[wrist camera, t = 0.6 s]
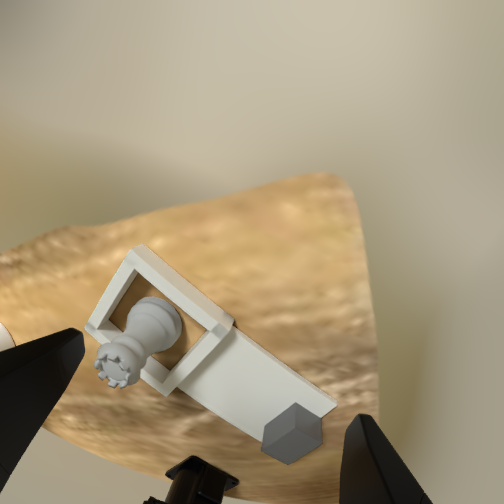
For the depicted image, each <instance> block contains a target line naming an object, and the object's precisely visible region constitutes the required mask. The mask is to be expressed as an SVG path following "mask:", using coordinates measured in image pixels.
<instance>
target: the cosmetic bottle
mask: <svg viewBox="0 0 504 504" xmlns="http://www.w3.org/2000/svg"><path fill="white" fill-rule="evenodd" d="M12 347H15V344H14V342H13V339H12V337H11V335H10V334H9V332H8V330H7V329H6V328H5V326H4V325H3V324H2V323H1V322H0V351H3V350H6V349H9V348H12Z"/></svg>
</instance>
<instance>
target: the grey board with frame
mask: <svg viewBox="0 0 504 504" xmlns="http://www.w3.org/2000/svg"><path fill="white" fill-rule="evenodd" d="M138 272H139V273H140V274H141V275H142V276H143V277H144V278H146V279H147V280H148V281H149V282H150V283H151V284H153V285H154V286H155V287H156V288H157V289H158V290H160V291H161V292H162V293H163V294H164V295H165V296H167V297H168V298H169V299H170V300H171V301H173V302H174V303H175V304H176V305H177V306H179V307H180V308H181V309H182V310H184V311H185V312H186V313H187V314H188V315H190V316H191V317H192V318H193V319H195V320H196V321H197V322H198V323H200V324H201V325H202V326H204V327H205V328H206V329H207V331H206V332H205V333H204V334H203V335H202V337H201V338H200V339H199V340H198V341H197V342H196V343H195V344H194V345H193V347H192V348H191V349H190V350H189V351H188V352H187V353H186V354H185V355H184V357H183V358H182V359H181V360H180V361H179V362H178V363H177V364H176V365H175V366H174V368H173V369H172V370H171V371H169V370H168V369H167V368H166V367H164V366H163V365H162V364H160V363H159V362H158V361H157V360H155V359H154V358H153V357H152V356H149V357H148V358H147V362H146V365H145V366H144V368H143V369H141V374H140V377H141V378H142V379H143V380H144V381H146V382H147V383H148V384H150V385H151V386H152V387H153V388H155V389H156V390H157V391H159V392H160V393H161V394H163V395H164V396H165V397H167V396H168V395H169V394H170V393H171V392H172V391H173V390H174V389H175V388H176V387H178V388H179V389H181V390H182V391H183V392H185V393H186V394H188V395H189V396H190V397H192V398H193V399H195V400H196V401H198V402H199V403H200V404H202V405H203V406H205V407H206V408H208V409H209V410H211V411H212V412H214V413H215V414H217V415H218V416H220V417H221V418H223V419H224V420H226V421H228V422H229V423H231V424H232V425H234V426H235V427H237V428H239V429H240V430H242V431H244V432H245V433H247V434H249V435H250V436H252V437H254V438H255V439H257V440H259V441H260V442H262V447H261V451H262V452H264V453H266V454H268V455H269V456H271V457H273V458H275V459H277V460H279V461H281V462H283V463H285V464H287V465H289V464H291V463H292V462H294V461H296V460H297V459H299V458H301V457H302V456H304V455H305V454H307V453H309V452H310V451H312V450H313V449H315V448H316V447H318V446H319V445H321V444H322V430H321V417H323V416H324V415H325V414H327V413H328V412H329V411H331V410H332V409H333V408H334V407H336V406H337V401H336V400H335V399H333V398H332V397H330V396H329V395H328V394H326V393H325V392H323V391H322V390H320V389H319V388H317V387H316V386H314V385H313V384H312V383H310V382H309V381H307V380H306V379H304V378H303V377H302V376H300V375H299V374H297V373H296V372H295V371H293V370H292V369H290V368H289V367H288V366H286V365H285V364H284V363H282V362H281V361H279V360H278V359H277V358H275V357H274V356H273V355H271V354H270V353H269V352H267V351H266V350H265V349H263V348H262V347H261V346H259V345H258V344H257V343H255V342H254V341H253V340H251V339H250V338H249V337H247V336H246V335H245V334H243V333H242V332H241V331H239V330H238V329H237V328H236V327H234V326H233V325H232V324H233V322H234V320H235V319H234V318H232V317H231V316H230V315H229V314H227V313H226V312H225V311H223V310H222V309H221V308H220V307H218V306H217V305H216V304H215V303H213V302H212V301H211V300H210V299H208V298H207V297H206V296H205V295H204V294H202V293H201V292H200V291H199V290H197V289H196V288H195V287H194V286H193V285H191V284H190V283H189V282H188V281H187V280H185V279H184V278H183V277H182V276H181V275H179V274H178V273H177V272H176V271H175V270H173V269H172V268H171V267H170V266H169V265H167V264H166V263H165V262H164V261H163V260H162V259H160V258H159V257H158V256H157V255H156V254H155V253H154V252H152V251H151V250H150V249H149V248H148V247H147V246H145V245H144V244H143V243H142V244H140V245H138V246H136V247H134V248H132V249H130V251H129V252H128V254H127V256H126V257H125V259H124V260H123V262H122V264H121V265H120V267H119V269H118V270H117V272H116V274H115V275H114V277H113V279H112V280H111V282H110V284H109V285H108V287H107V289H106V290H105V292H104V294H103V296H102V297H101V299H100V301H99V303H98V304H97V306H96V308H95V310H94V311H93V313H92V315H91V317H90V319H89V320H88V322H87V324H86V326H85V328H84V329H85V330H86V331H87V332H88V333H89V334H91V335H92V336H93V337H94V338H95V339H96V340H97V341H98V342H99V343H100V344H102V345H103V344H104V343H111V342H112V340H113V338H114V337H116V336H118V335H122V334H123V332H122V331H121V330H120V329H118V328H117V327H116V326H115V325H114V324H113V323H112V322H111V321H109V320H108V319H109V318H110V316H111V315H112V313H113V311H114V310H115V308H116V306H117V305H118V303H119V302H120V300H121V299H122V297H123V295H124V294H125V292H126V291H127V289H128V288H129V286H130V285H131V283H132V281H133V280H134V278H135V277H136V275H137V274H138Z"/></svg>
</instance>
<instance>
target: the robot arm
mask: <svg viewBox="0 0 504 504" xmlns="http://www.w3.org/2000/svg"><path fill="white" fill-rule="evenodd" d="M84 354H85V345H84V337H83V333H82V332H81V331H79V330H77V329H75V328H68V329H65V330H62V331H59V332H56V333H54V334H51V335H48V336H45V337H42V338H39V339H36V340H33V341H30V342H27V343H24V344H21V345H18V346H15V347H12V348H9V349H6V350H3V351H0V493H1V491H2V489H3V488H4V486H5V484H6V482H7V481H8V479H9V477H10V475H11V474H12V472H13V470H14V469H15V467H16V465H17V463H18V462H19V460H20V459H21V457H22V455H23V454H24V452H25V451H26V449H27V447H28V446H29V444H30V443H31V441H32V439H33V438H34V436H35V435H36V433H37V432H38V430H39V429H40V427H41V426H42V424H43V423H44V421H45V419H46V418H47V416H48V415H49V413H50V412H51V411H52V409H53V408H54V406H55V405H56V403H57V402H58V400H59V399H60V397H61V396H62V394H63V393H64V391H65V390H66V388H67V386H68V384H69V383H70V381H71V379H72V377H73V375H74V373H75V371H76V370H77V368H78V366H79V364H80V362H81V360H82V359H83V357H84ZM165 475H166V476H167V477H168V478H170V479H171V480H173V482H172V485H171V487H170V490H169V492H168V495H167V497H166V500H165V502H163V501H160V500H157V499H155V498H154V497H151V496H150V498H149V499H148V501H144V503H143V504H221V503H222V499H223V495H224V492H225V491H227V490H229V489H231V488H233V487H235V486H237V485H238V483H239V481H238V480H237V479H235V478H233V477H232V476H230V475H228V474H226V473H224V472H222V471H220V470H218V469H217V468H215V467H213V466H211V465H209V464H208V463H206V462H204V461H203V460H201V459H199V458H197V457H196V456H189V457H188V458H187V459H185V460H184V461H182V462H180V463H179V464H177V465H176V466H174V467H173V468H171V469H170V470H168V471H167V472H166V474H165ZM339 504H433V503H432V502H431V500H430V499H429V498H428V496H427V495H426V493H424V490H423V489H422V488H421V486H420V485H419V483H418V482H417V480H416V479H415V478H414V476H413V475H412V473H411V472H410V470H409V469H408V468H407V466H406V465H405V463H404V462H403V460H402V459H401V458H400V456H399V455H398V453H397V452H396V450H395V449H394V448H393V446H392V445H391V443H390V442H389V441H388V439H387V438H386V436H385V435H384V433H383V432H382V431H381V429H380V428H379V426H378V425H377V423H376V422H375V420H374V419H373V418H372V416H370V415H367V414H358V415H356V417H355V418H354V419H353V421H352V422H351V424H350V425H349V426H348V428H347V430H346V433H345V440H344V448H343V456H342V464H341V472H340V498H339Z"/></svg>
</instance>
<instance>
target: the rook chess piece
mask: <svg viewBox="0 0 504 504" xmlns="http://www.w3.org/2000/svg"><path fill="white" fill-rule="evenodd" d="M181 330H182V323H181V319H180V316H179V314H178V313H177V311H176V310H175V308H174V307H173V306H172V305H171V304H169V303H168V302H167V301H165V300H164V299H160V298H157V297H154V296H153V297H144V298H142V299H141V300H139V301H137V303H136V304H135V305H134V306H133V307H132V309H131V310H130V312H129V314H128V316H127V325H126V329H125V331H124V332H123V334H122V335H118V336H116V337H114V338H113V340H112V342H111V343H104V344H103V345H101V346H100V347H99V349H98V351H97V360H96V361H95V362H94V367H95V368H96V369H99V368H100V372H99V373H98V374H97V375H98V376H99V378H100V379H101V380H103V379H104V378H105V377H106V378H107V379H108V380H110V382H109V383H108V386H110V387H112V388H115V387H116V386H117V385H119V387H120V389H122V388H125V387H126V386H127V385H133V384H135V383H137V381H138V380H139V379H140V374H141V369H143V368H144V366H145V365H146V362H147V358H148V357H149V356H151V355H152V354H153V353H157V352H162V351H164V350H166V349H168V348H170V347H172V345H173V344H174V343H175V342H176V341H177V340H178V338H179V337H180V336H181Z"/></svg>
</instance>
